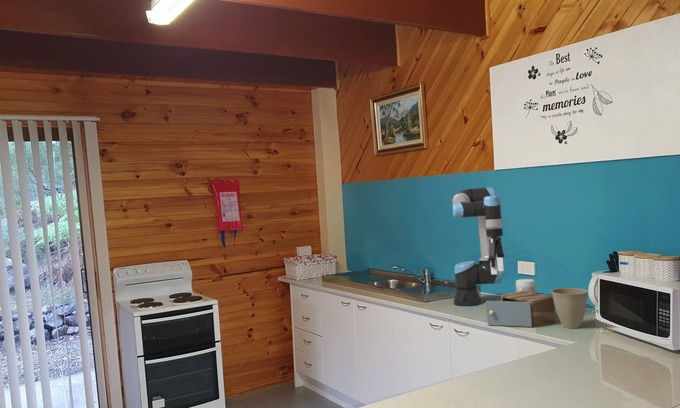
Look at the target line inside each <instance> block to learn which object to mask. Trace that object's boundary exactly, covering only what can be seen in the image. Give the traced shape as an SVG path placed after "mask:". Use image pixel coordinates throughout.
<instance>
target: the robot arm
mask: <svg viewBox="0 0 680 408" xmlns="http://www.w3.org/2000/svg"><path fill="white" fill-rule="evenodd" d="M451 200H452V202H451V203H452V215H453V217H454V218H455V219H462V218H475V217H476V218H477V220H478V221H477V222H478V223H477V225H478V234H479V246H480V258H479V259H478V263H476V261H475V260H467V261H462V262H459V263H456V264H455V265H454V281H455V293H454V298H453V304H454V306H455V305H456V306H460V307H471V306H472V307H473V306H478V305H481V304H482V297H480V294H479V291H478V285H491V284H492V285H495V284H501V283H502V282H503V279H504V270H505V269H504V267H505V266H504V258H505V254H504V250H503V244H502V236H504V230H503V228H502V227H503V223H504V221H503V220H502V207H501V203H502V202H501V197H500V196H499V195H497V193H496V190H495V188H493V187H490V186H489V187H476V188H466V189H462V190H460V191H458V192H456V193H455V194H454V195H453V196H452V199H451Z"/></svg>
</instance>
